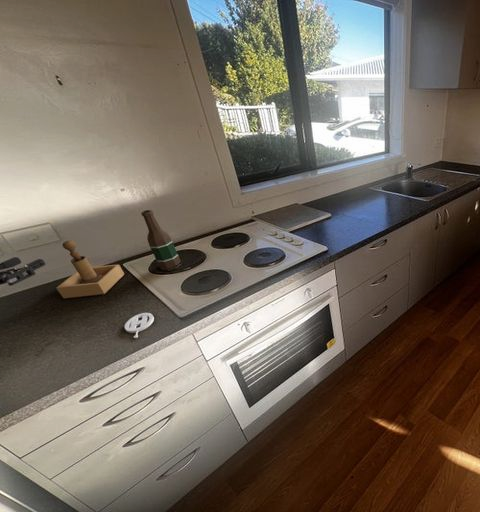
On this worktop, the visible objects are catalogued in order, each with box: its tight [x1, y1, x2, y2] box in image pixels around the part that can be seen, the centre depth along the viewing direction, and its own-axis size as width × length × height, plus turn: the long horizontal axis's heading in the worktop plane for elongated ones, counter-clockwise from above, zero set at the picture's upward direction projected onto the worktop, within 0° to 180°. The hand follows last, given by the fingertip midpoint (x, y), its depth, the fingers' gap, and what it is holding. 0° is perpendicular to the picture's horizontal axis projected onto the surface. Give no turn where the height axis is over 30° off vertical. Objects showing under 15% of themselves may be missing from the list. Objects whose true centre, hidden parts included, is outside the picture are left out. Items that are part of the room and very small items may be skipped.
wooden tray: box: [55, 264, 125, 299], centre depth 106 cm, size 13×13×5 cm
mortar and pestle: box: [62, 240, 103, 284], centre depth 102 cm, size 7×6×18 cm
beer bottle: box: [140, 209, 182, 272], centre depth 112 cm, size 8×8×24 cm
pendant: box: [124, 312, 155, 339], centre depth 89 cm, size 7×11×1 cm, turn 29°
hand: (30, 260), depth 89 cm, fingers open, 8 cm apart
